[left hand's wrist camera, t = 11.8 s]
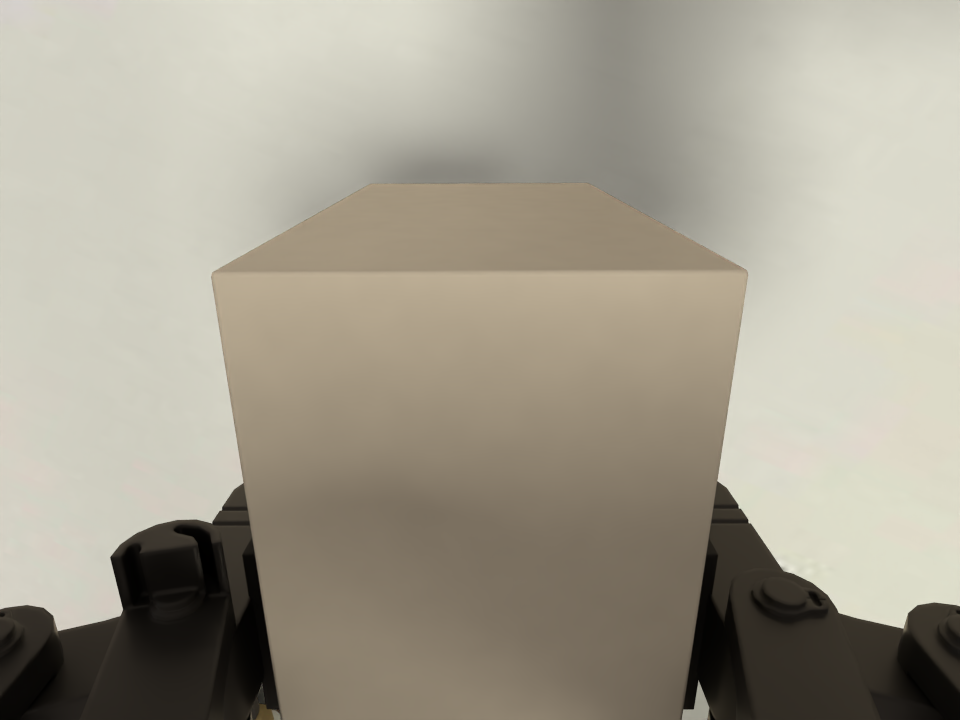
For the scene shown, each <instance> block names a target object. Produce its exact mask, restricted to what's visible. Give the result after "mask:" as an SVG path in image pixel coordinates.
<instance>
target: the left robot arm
mask: <svg viewBox="0 0 960 720" xmlns="http://www.w3.org/2000/svg"><path fill="white" fill-rule="evenodd" d="M110 558H111V562H112V566H113V570H114V574H115V578H116V582H117V586H118V590H119V594H120V599H121V603H122V607H123V612H122V614H121V616H119V617H116V618H113V619H109V620H106V621H102V622H97V623H93V624H88V625H84V626H79V627H75V628H70V629H66V630H62V631H57V628H56V624H55V621H54V618H53V615H51V614H50V613H49V612H48V611H47V610H45V609H44V608H41V607H35V606H29V605H25V606H17V607H9V608H4V609H0V720H253V719H252V713H251V709H252V707H253V704H254V701H255V699H256V696H257V694H258V691H259V689H260V686H261V684H262V683H263V689H264V696H265V702H266V708H267V709H279V704H278V698H277V692H276V685H275V679H274V672H273V666H272V660H271V653H270V647H269V641H268V634H267V628H266V622H265V615H264V609H263V602H262V596H261V590H260V583H259V577H258V571H257V564H256V558H255V552H254V545H253V539H252V532H251V526H250V520H249V513H248V507H247V501H246V494H245V488H244V483H243V484H242V485H240V486H239V487H237V488H236V489H235V490H234V491H233V492H232V494H231V495H230V497H229V498H228V500H227V501H226V503H225V504H224V506H223V507H222V511H219V513H218V514H217V516H216V517H215V519H214V520H213V522H212V524H211V523H208V522H204V521H200V520H176V521H171V522H167V523H163V524H158V525H155V526H153V527H150V528H148V529H146V530H143V531H141V532H139V533H136V534H135V535H134V536H132V537H131V538H129V539H128V540H126V541H125V542H123V543H122V544H121V545H120V546H119V547H118V548H117V550H116V551H115V552H114V553H113V555H112V556H111V557H110ZM698 680H699V682H700V685H701V687H702V690H703V692H704V695H705V697H706V700H707V702H708V705H709V713H708V719H707V720H960V606H957V605H949V604H941V603H929V604H923V605H917V606H916V607H915V608H914V609H913V610H912V611H910V612H909V613H908V616H907V619H906V623H905V626H904V629H902V628H897V627H893V626H888V625H884V624H879V623H875V622H870V621H866V620H861V619H857V618H853V617H850V616H847V615H843V614H840V613H838V611H837V608H836V607H835V606H834V604H833V603H832V601H831V600H830V598H829V597H828V595H827V594H825V593H824V592H823V591H822V590H820V589H819V588H818V587H817V586H815V585H814V584H813V583H811V582H809V581H807V580H805V579H803V578H801V577H799V576H797V575H795V574H792V573H788V572H784V571H783V570H782V569H781V567H780V566H779V564H778V563H777V561H776V560H775V558H774V557H773V555H772V554H771V552H770V551H769V549H768V548H767V547H766V545H765V544H764V542H763V541H762V539H761V538H760V536H759V535H758V533H757V532H756V530H755V529H754V527H753V526H752V524H749V523H748V519H747V517H746V516H745V514H744V513H743V511H742V510H741V509H739V508H738V504H737V502H736V501H735V500H734V498H733V497H732V495H731V494H730V492H729V491H728V489H727V488H726V487H725V486H723V485H722V484H720V483H719V482H718V481H717V486H716V492H715V499H714V506H713V512H712V519H711V526H710V533H709V539H708V546H707V553H706V559H705V566H704V573H703V579H702V586H701V593H700V599H699V606H698V613H697V620H696V626H695V633H694V640H693V646H692V653H691V660H690V666H689V673H688V680H687V686H686V693H685V700H684V706H683V709H694V704H695V698H696V692H697V686H698Z"/></svg>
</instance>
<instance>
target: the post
mask: <svg viewBox="0 0 960 720" xmlns="http://www.w3.org/2000/svg"><path fill="white" fill-rule="evenodd" d="M211 278H212V284H213V291H214V297H215V303H216V310H217V316H218V322H219V329H220V335H221V342H222V348H223V354H224V361H225V367H226V373H227V380H228V386H229V392H230V399H231V405H232V412H233V418H234V424H235V431H236V437H237V443H238V450H239V456H240V462H241V469H242V475H243V482H244V488H245V494H246V501H247V507H248V513H249V520H250V526H251V532H252V539H253V545H254V552H255V558H256V564H257V571H258V577H259V583H260V590H261V596H262V602H263V609H264V615H265V622H266V628H267V634H268V641H269V647H270V653H271V660H272V666H273V672H274V679H275V685H276V692H277V698H278V704H279V711H280V717H281V720H682V713H683V706H684V700H685V693H686V686H687V680H688V673H689V666H690V660H691V653H692V646H693V640H694V633H695V626H696V620H697V613H698V606H699V599H700V593H701V586H702V579H703V573H704V566H705V559H706V553H707V546H708V539H709V533H710V526H711V519H712V512H713V506H714V499H715V492H716V486H717V479H718V472H719V466H720V459H721V452H722V446H723V439H724V432H725V426H726V419H727V412H728V405H729V399H730V392H731V385H732V379H733V372H734V365H735V359H736V352H737V345H738V339H739V332H740V325H741V318H742V312H743V305H744V298H745V292H746V285H747V278H748V273H747V270H745V269H744V268H742V267H740V266H738V265H736V264H734V263H733V262H731V261H729V260H727V259H725V258H724V257H722V256H720V255H718V254H716V253H714V252H713V251H711V250H709V249H707V248H705V247H704V246H702V245H700V244H698V243H696V242H694V241H693V240H691V239H689V238H687V237H685V236H684V235H682V234H680V233H678V232H676V231H674V230H673V229H671V228H669V227H667V226H665V225H663V224H662V223H660V222H658V221H656V220H654V219H653V218H651V217H649V216H647V215H645V214H643V213H642V212H640V211H638V210H636V209H634V208H633V207H631V206H629V205H627V204H625V203H623V202H622V201H620V200H618V199H616V198H614V197H613V196H611V195H609V194H607V193H605V192H603V191H602V190H600V189H598V188H596V187H594V186H593V185H591V184H589V183H446V184H369V185H367V186H366V187H364V188H362V189H360V190H359V191H357V192H355V193H353V194H351V195H350V196H348V197H346V198H344V199H343V200H341V201H339V202H337V203H335V204H334V205H332V206H330V207H328V208H326V209H325V210H323V211H321V212H319V213H318V214H316V215H314V216H312V217H310V218H309V219H307V220H305V221H303V222H301V223H300V224H298V225H296V226H294V227H293V228H291V229H289V230H287V231H285V232H284V233H282V234H280V235H278V236H276V237H275V238H273V239H271V240H269V241H268V242H266V243H264V244H262V245H260V246H259V247H257V248H255V249H253V250H251V251H250V252H248V253H246V254H244V255H243V256H241V257H239V258H237V259H235V260H234V261H232V262H230V263H228V264H226V265H225V266H223V267H221V268H219V269H218V270H216V271H214V272H212V276H211Z"/></svg>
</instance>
